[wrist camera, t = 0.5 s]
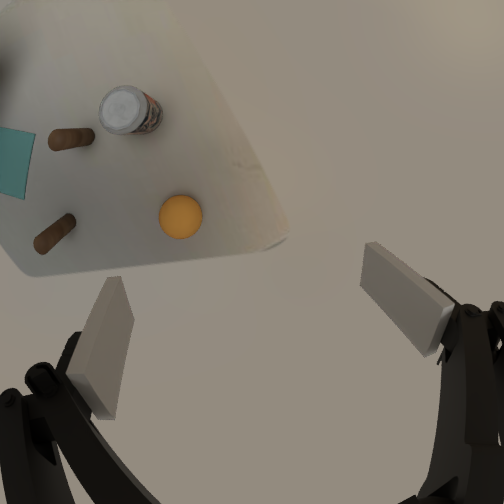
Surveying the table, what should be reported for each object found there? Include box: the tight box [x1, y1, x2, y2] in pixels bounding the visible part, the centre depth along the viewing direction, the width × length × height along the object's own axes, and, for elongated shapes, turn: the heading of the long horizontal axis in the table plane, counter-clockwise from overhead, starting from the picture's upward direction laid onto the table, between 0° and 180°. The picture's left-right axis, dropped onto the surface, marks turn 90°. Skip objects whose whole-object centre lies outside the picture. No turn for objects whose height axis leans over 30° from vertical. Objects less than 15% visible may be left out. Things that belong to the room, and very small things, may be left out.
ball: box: [159, 195, 202, 239], centre depth 35 cm, size 6×6×6 cm
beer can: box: [99, 85, 162, 135], centre depth 26 cm, size 5×5×12 cm
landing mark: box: [0, 127, 35, 200], centre depth 29 cm, size 10×10×1 cm
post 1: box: [48, 128, 95, 151], centre depth 27 cm, size 2×2×9 cm
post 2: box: [33, 214, 76, 255], centre depth 31 cm, size 2×2×9 cm
